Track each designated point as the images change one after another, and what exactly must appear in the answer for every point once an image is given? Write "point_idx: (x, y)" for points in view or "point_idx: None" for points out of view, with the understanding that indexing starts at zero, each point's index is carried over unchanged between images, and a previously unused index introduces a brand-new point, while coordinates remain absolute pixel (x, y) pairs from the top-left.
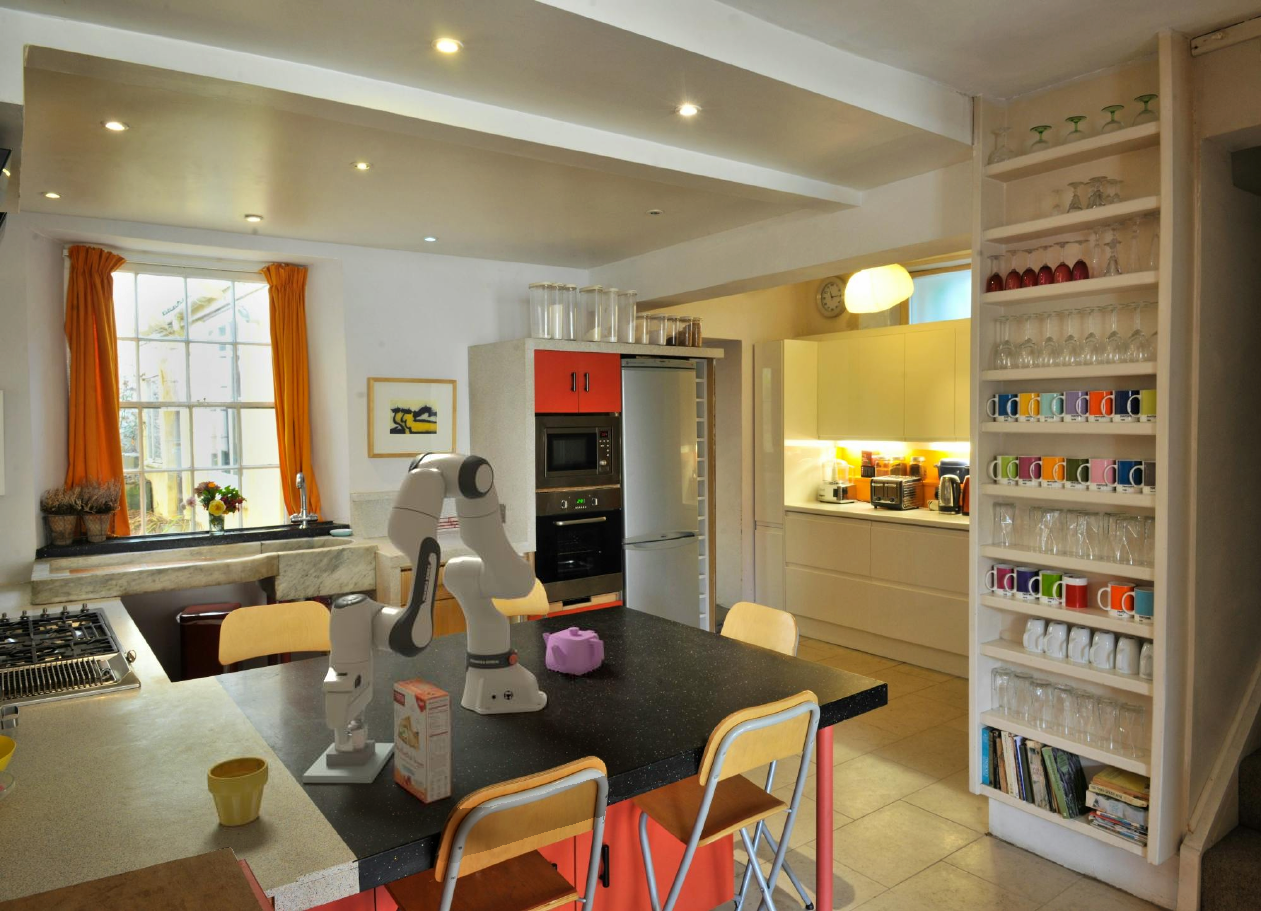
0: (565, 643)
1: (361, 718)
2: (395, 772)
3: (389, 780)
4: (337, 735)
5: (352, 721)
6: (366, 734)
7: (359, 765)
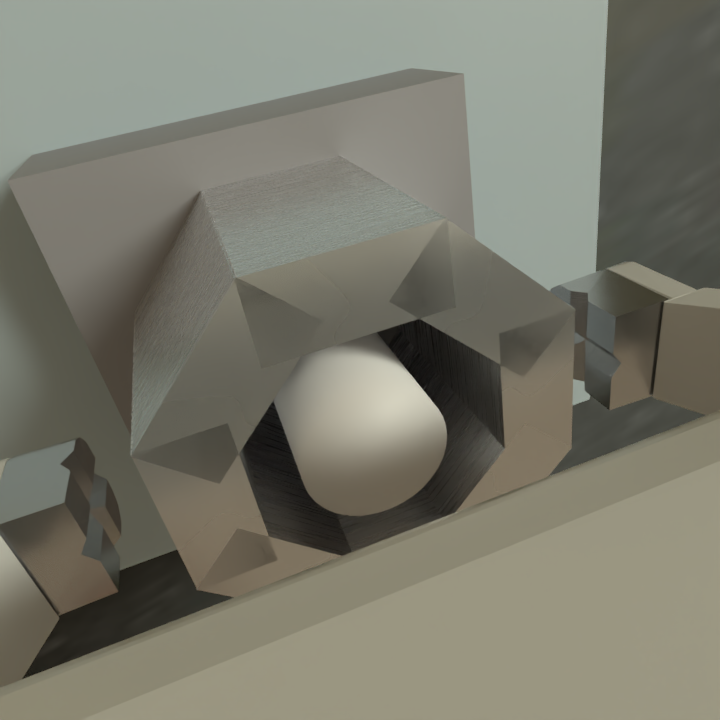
0: None
1: (662, 390)
2: None
3: (123, 613)
4: (179, 323)
5: (567, 348)
6: None
7: None
